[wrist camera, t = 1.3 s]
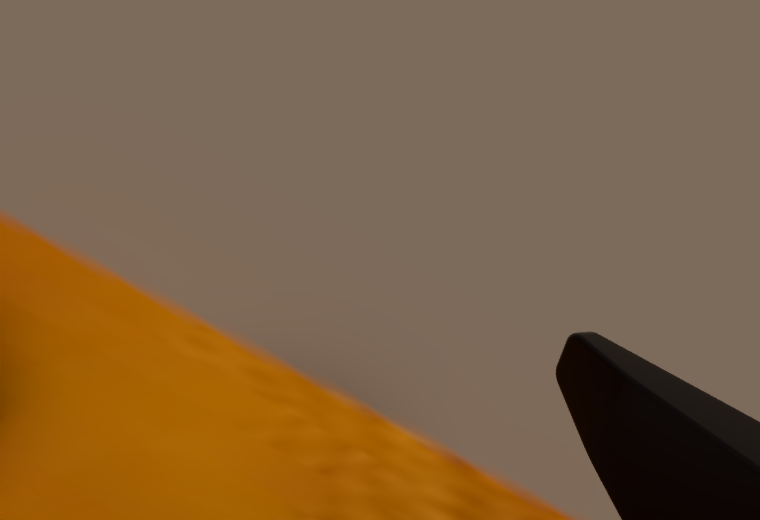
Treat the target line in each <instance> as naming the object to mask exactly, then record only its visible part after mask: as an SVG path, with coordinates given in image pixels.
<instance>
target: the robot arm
mask: <svg viewBox="0 0 760 520" xmlns="http://www.w3.org/2000/svg"><path fill="white" fill-rule="evenodd" d="M556 378H557V382H558V384H559V387H560V389H561V392H562V394H563V396H564V399H565V401H566V404H567V406H568V408H569V411H570V413H571V416H572V418H573V421H574V423H575V426H576V428H577V430H578V433H579V435H580V438H581V440H582V442H583V445H584V447H585V449H586V451H587V454H588V456H589V458H590V460H591V462H592V464H593V466H594V468H595V470H596V472H597V474H598V476H599V478H600V480H601V481H602V483H603V485H604V487H605V489H606V490H607V493H608V495H609V496H610V498H611V500H612V502H613V504H614V506H615V508H616V509H617V512H618V513H619V515H620V517H621V519H622V520H760V422H759V421H757V420H755V419H753V418H751V417H750V416H748V415H746V414H744V413H742V412H740V411H739V410H737V409H735V408H733V407H731V406H729V405H727V404H726V403H724V402H722V401H720V400H718V399H717V398H715V397H713V396H711V395H709V394H707V393H706V392H704V391H702V390H700V389H698V388H696V387H694V386H693V385H691V384H689V383H687V382H685V381H683V380H681V379H680V378H678V377H676V376H674V375H672V374H671V373H669V372H667V371H665V370H663V369H661V368H659V367H658V366H656V365H654V364H652V363H650V362H648V361H646V360H645V359H643V358H641V357H639V356H638V355H636V354H634V353H632V352H630V351H628V350H626V349H625V348H623V347H621V346H619V345H617V344H615V343H614V342H612V341H610V340H608V339H606V338H604V337H603V336H601V335H599V334H597V333H594V332H580V333H574V334H572V335H570V336H569V337H568V339H567V341H566V344H565V346H564V349H563V352H562V354H561V356H560V359H559V362H558V364H557V367H556Z"/></svg>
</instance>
